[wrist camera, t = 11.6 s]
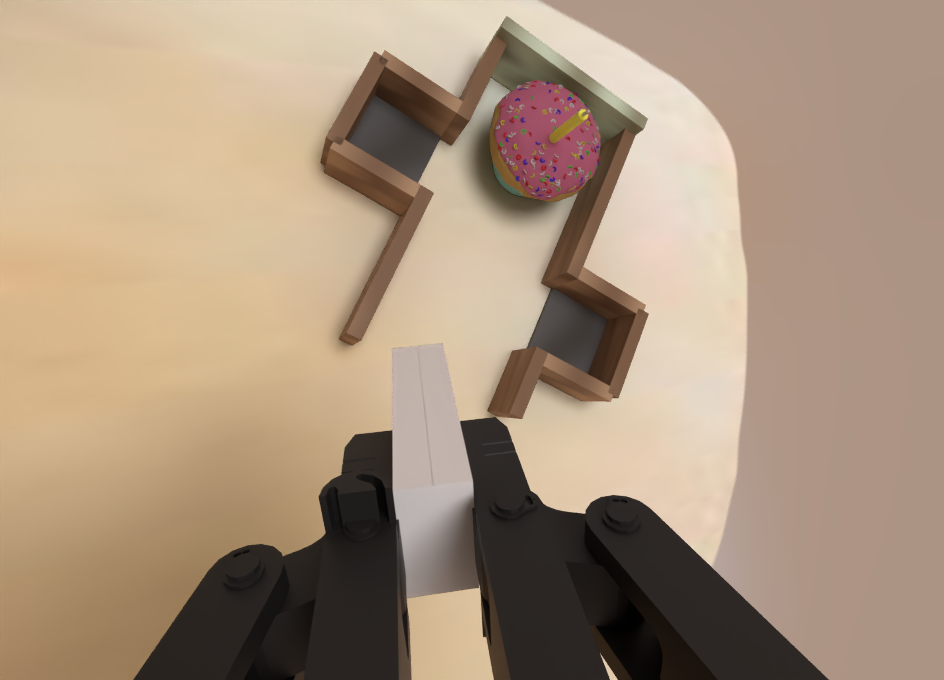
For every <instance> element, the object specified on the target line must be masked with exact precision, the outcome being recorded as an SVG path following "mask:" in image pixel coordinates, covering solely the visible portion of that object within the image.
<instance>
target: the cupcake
mask: <svg viewBox="0 0 944 680" xmlns="http://www.w3.org/2000/svg"><path fill="white" fill-rule="evenodd" d="M518 86H519V87H518ZM518 86H517V88H516V89H515V90H513V91H512V92H510V93H509V94H506V96H505V97H503V98H502V100H501V101H500V102H499V103H498V104H497V106H496V107H495V110H494V115H493V119H492V123H491V130H490V152H491V157H492V160H493V170H494V174H495V176H496V178H497V180H498V182H499V183H500V184H501V185H502V187H503V188H505V189H506V190H507V191H509V192H510V193H512V194H514V195H518V196H525V197H528V198H534V199H539V200H544V201H550V202H555V201H559V200H562V199H564V198H567V197H570V196H573V195H574V194H576V193H577V192H578V191H579V190H580V189H581V188H582V187H583V186H584V185H585V183H586V182H587V181H588V180H589V179H591V178H592V177H593V175H594V173H595V170H596V169H597V165H599V160H600V159H599V153H600V138H601V135H600V133H599V132H598V131H599V127H598V126H596V124H595V121H594V120H595V119H594V118H593V117H592V115H591V111H590V110H588V108H587V105H586V104H585V105H584V102H583V101H582V100H581V99H579V98H578V97H577V93H572V92H570V91H568V90H567V89H566V88H563V86H562V85H559V84H558V85H556V84H554V83H549V82H544V81H539V80H534V81H530V82H525V84H523V85H518ZM597 163H598V164H597Z"/></svg>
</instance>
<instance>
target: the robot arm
mask: <svg viewBox="0 0 944 680" xmlns="http://www.w3.org/2000/svg"><path fill="white" fill-rule="evenodd" d="M341 473H342V475H340V476H338V477H336V478H334V479H332V480H331V481H330V482H329V483H328V484H327V485H325V486H324V487H323V489H322V491H321V493H320V495H319V501H320V506H321V511H322V516H323V521H324V526H325V531H326V533H325V535H324V536H323V537H322V538H321V539H319V540H318V541H316V542H315V543H313V544H312V545H310V546H308V547H306V548H303V549H301V550H299V551H296V552H293V553H291V554H288V555H285V556H283V557H282V553H281V552H280V551H278V550H277V549H276V548H275V547H273V546H268V545H264V544H257V545H248V546H245V547H242V548H239V549H236V550H234V551H232V552H230V553H229V554H227V555H225V556H224V557H222V558H221V559H219V560H218V561H217V562H216V563H215V564H214V565H213V567H212V568H211V569H210V570H209V571H208V572H207V574H206V575H205V577H204V578H203V580H202V581H201V582H200V584H199V585H198V587H197V588H196V590H195V591H194V593H193V594H192V596H191V597H190V598H189V600H188V601H187V603H186V604H185V606H184V607H183V609H182V610H181V611H180V613H179V614H178V616H177V617H176V619H175V620H174V622H173V623H172V625H171V626H170V627H169V629H168V630H167V632H166V633H165V635H164V636H163V638H162V639H161V640H160V642H159V643H158V645H157V646H156V648H155V649H154V651H153V652H152V654H151V655H150V656H149V658H148V659H147V661H146V662H145V664H144V665H143V667H142V668H141V670H140V671H139V672H138V674H137V675H136V677H135V678H134V680H411V654H410V628H409V616H408V608H407V598H412V597H419V596H425V595H432V594H439V593H446V592H453V591H459V590H466V589H473V588H479V585H480V591H481V608H482V626H483V637H486V638H487V643H488V649H489V655H490V660H491V666H492V672H493V677H494V680H610V679H609V676H608V673H607V671H606V668H605V665H604V663H603V660H602V658H601V655H602V656H603V658H604V659H605V661H606V662H607V664H608V665H609V667H610V668H611V670H612V671H613V673H614V674H615V676H616V677H617V679H618V680H828V679H827V678H826V677H825V676H824V675H823V674H822V673H821V672H820V671H819V670H818V669H817V668H816V667H815V666H814V665H813V664H812V663H811V662H810V661H808V659H807V658H806V657H805V656H803V655H802V654H801V653H800V652H799V651H798V650H797V649H796V648H795V647H794V646H793V645H792V644H791V643H790V642H789V641H788V640H787V639H786V638H785V637H784V636H783V635H781V634H780V633H779V632H778V631H777V630H776V629H775V628H774V627H773V626H772V625H771V624H770V623H769V622H768V621H767V620H766V619H765V618H764V617H763V616H762V615H761V614H760V613H759V612H758V611H757V610H756V609H755V608H753V607H752V606H751V605H750V604H749V603H748V602H747V601H746V600H745V599H744V598H743V597H742V596H741V595H740V594H739V593H738V592H737V591H736V590H735V589H734V588H733V587H732V586H731V585H729V584H728V583H727V582H726V581H725V580H724V579H723V578H722V577H721V576H720V575H719V574H718V573H717V572H716V571H715V570H714V569H713V568H712V567H711V566H710V565H709V564H708V563H707V562H706V561H705V560H703V559H702V558H701V557H700V556H699V555H698V554H697V553H696V552H695V551H694V550H693V549H692V548H691V547H690V546H689V545H688V544H687V543H686V542H685V541H684V540H683V539H682V538H681V537H680V536H678V535H677V534H676V533H675V532H674V531H673V530H672V529H671V528H670V527H669V526H668V525H667V524H666V523H665V522H664V521H663V520H662V519H661V518H660V517H659V516H658V515H657V514H656V513H655V512H653V511H652V510H651V509H650V508H649V507H647V506H646V505H645V504H643V503H642V502H640V501H638V500H635V499H632V498H630V497H627V496H617V495H611V496H605V497H600V498H598V499H597V500H595V501H593V502H591V503H590V505H589V506H588V508H587V509H586V514H582V513H573V512H565V511H560V510H555V509H553V508H550V507H547V506H546V505H544V504H543V503H542V501H541V500H540V498H539V497H538V496H537V495H536V494H535V493H533V492H532V491H530V488H529V486H528V483H527V480H526V477H525V475H524V472H523V469H522V466H521V464H520V461H519V458H518V455H517V453H516V450H515V447H514V444H513V442H512V439H511V436H510V433H509V431H508V428H507V427H506V426H505V425H504V424H503V423H502V422H500V421H499V420H498V419H497V418H496V417H493V418H484V419H475V420H467V421H460V420H459V416H458V411H457V406H456V402H455V397H454V393H453V388H452V384H451V379H450V375H449V370H448V365H447V361H446V356H445V352H444V347H443V343H441V344H431V345H421V346H410V347H400V348H392V430H391V431H383V432H374V433H365V434H356V435H354V437H353V438H352V439H351V440H350V442H349V443H348V444H347V445H346V447H345V450H344V458H343V465H342V472H341ZM600 653H601V655H600Z"/></svg>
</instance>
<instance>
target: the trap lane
mask: <svg viewBox="0 0 944 680" xmlns="http://www.w3.org/2000/svg"><path fill="white" fill-rule="evenodd" d="M491 77H492V78H493V79H495V80H496V81H497V82H499V83H500V84H502V85H503V86H505V87H506V88H508V89H509V90H511V91H513V90H515V89H516V88H517V86H518V85H523V84H525V82H530V81H534V80H539V81H544V82H549V83H554V84H556V85H558V84H559V85H562V86H563V88H566V89H567V90H568V91H570V92H572V93H577V97H578V98H579V99H581V100H582V101H583V102H584V105H585V104H586V105H587V108H588V110H590V111H591V115H592V117H593V118H594V119H595V120H594V121H595V124H596V126H598V127H599V131H598V132H599V133H600V135H601V138H600V153H599V159H600V160H599V165H597V169H596V170H595V173H594V175H593V177H592V178H591V179H589V180H588V181H587V182H586V183H585V185H584V186H583V187H582V188H581V189H580V191H579V193H578V196H577V198H576V201H575V203H574V205H573V208H572V210H571V212H570V215H569V217H568V220H567V222H566V224H565V227H564V229H563V232H562V234H561V236H560V239H559V241H558V244H557V246H556V248H555V251H554V253H553V256H552V258H551V260H550V263H549V265H548V268H547V270H546V272H545V275H544V277H543V280H542V282H541V283H542V284H544V285H546V286H548V287H549V288H551V291H550V293H549V296H548V298H547V301H546V303H545V306H544V308H543V311H542V313H541V315H540V318H539V320H538V323H537V325H536V328H535V330H534V332H533V335H532V337H531V340H530V342H529V345H528V347H527V348H526V349H520V350H515V351H512V354H511V356H510V359H509V361H508V363H507V366H506V368H505V371H504V373H503V375H502V378H501V380H500V383H499V385H498V387H497V390H496V392H495V394H494V397H493V399H492V402H491V404H490V406H489V409H488V412H490V413H492V414H494V415H497V416H499V417H508V418H518V419H522V418H523V415H524V413H525V410H526V408H527V405H528V403H529V400H530V398H531V395H532V393H533V390H534V388H535V385H536V383H537V380H538V379H540V380H542V381H544V382H546V383H548V384H550V385H552V386H554V387H556V388H558V389H559V390H561V391H563V392H565V393H567V394H569V395H571V396H573V397H575V398H577V399H579V400H581V401H606V402H611V400H612V398H619V395H620V393H621V390H622V387H623V384H624V381H625V379H626V376H627V373H628V370H629V367H630V365H631V362H632V359H633V356H634V353H635V351H636V348H637V345H638V342H639V340H640V337H641V334H642V331H643V328H644V326H645V323H646V320H647V317H648V313H646V312H645V311H644V309H645V306H646V305H645V304H643V303H641V302H640V301H638V300H637V299H635V298H633V297H632V296H630V295H628V294H627V293H625V292H623V291H622V290H620V289H618V288H617V287H615V286H613V285H612V284H610V283H608V282H607V281H605V280H603V279H602V278H600V277H599V276H597V275H595V274H594V273H592V272H590V271H589V270H587V269H585V268H584V267H583V265H584V263H585V260H586V258H587V255H588V253H589V250H590V248H591V245H592V243H593V240H594V238H595V235H596V233H597V230H598V228H599V225H600V223H601V220H602V218H603V215H604V213H605V210H606V208H607V205H608V203H609V200H610V198H611V195H612V193H613V190H614V188H615V185H616V183H617V180H618V178H619V175H620V173H621V170H622V168H623V165H624V163H625V160H626V158H627V155H628V153H629V150H630V148H631V145H632V143H633V140H634V138H635V135H636V134H638V133H639V132H641V131H642V130H643V129H644V127H645V125H646V122H647V120H648V118H646V117H645V116H643V115H642V114H641V113H639V112H638V111H637V110H635V109H634V108H632V107H631V106H630V105H628V104H627V103H626V102H624V101H623V100H621V99H620V98H619V97H617V96H616V95H615V94H613V93H612V92H610V91H609V90H608V89H606V88H605V87H604V86H602V85H601V84H599V83H598V82H597V81H595V80H594V79H593V78H591V77H590V76H588V75H587V74H586V73H584V72H583V71H582V70H580V69H579V68H578V67H576V66H575V65H573V64H572V63H571V62H569V61H568V60H567V59H565V58H564V57H562V56H561V55H560V54H558V53H557V52H556V51H554V50H553V49H551V48H550V47H549V46H547V45H546V44H545V43H543V42H542V41H540V40H539V39H538V38H536V37H535V36H534V35H532V34H531V33H529V32H528V31H527V30H525V29H524V28H523V27H521V26H520V25H518V24H517V23H516V22H514V21H513V20H512V19H510V18H509V17H507V16H506V18H505V19H504V21H503V22H502V24H501V26H500V27H499V29H498V30H497V32H496V34H495V35H494V37H493V38H492V40H491V42H490V43H489V45H488V46H487V48H486V50H485V51H484V53H483V54H482V56H481V58H480V60H479V62H478V64H477V66H476V68H475V70H474V72H473V74H472V76H471V78H470V80H469V82H468V84H467V86H466V88H465V90H464V91H463V93H462V95H461V97H460V99H458V98H457V97H455V96H454V95H452V94H451V93H449V92H447V91H446V90H444V89H443V88H441V87H440V86H438V85H437V84H435V83H434V82H432V81H431V80H429V79H428V78H426V77H425V76H423V75H422V74H420V73H419V72H417V71H416V70H414V69H413V68H411V67H410V66H408V65H407V64H405V63H404V62H402V61H400V60H399V59H397V58H396V57H394V56H393V55H391V54H390V53H388V52H387V51H385V50H384V52H383V54H382V56H381V55H379V54H378V53H376V52H374V53H373V55H372V57H371V59H370V60H369V62H368V64H367V66H366V68H365V69H364V71H363V73H362V75H361V76H360V78H359V80H358V82H357V83H356V85H355V87H354V89H353V91H352V92H351V94H350V96H349V98H348V99H347V101H346V103H345V105H344V107H343V108H342V110H341V112H340V114H339V115H338V117H337V119H336V121H335V122H334V124H333V126H332V128H331V130H330V131H329V133H328V135H327V137H326V140H325V145H324V149H323V154H322V158H321V163H322V164H324V165H326V166H325V170H324V173H326V174H328V175H330V176H331V177H333V178H335V179H337V180H338V181H340V182H342V183H344V184H345V185H347V186H349V187H351V188H352V189H354V190H356V191H358V192H359V193H361V194H363V195H365V196H366V197H368V198H370V199H372V200H373V201H375V202H377V203H379V204H380V205H382V206H384V207H386V208H387V209H389V210H391V211H393V212H394V213H396V214H398V215H400V216H401V217H400V219H399V221H398V223H397V225H396V227H395V228H394V230H393V232H392V234H391V236H390V238H389V240H388V242H387V244H386V246H385V248H384V250H383V252H382V254H381V256H380V258H379V260H378V262H377V264H376V266H375V268H374V270H373V272H372V274H371V276H370V278H369V280H368V282H367V284H366V286H365V288H364V290H363V292H362V294H361V296H360V298H359V300H358V302H357V304H356V306H355V308H354V310H353V312H352V314H351V316H350V318H349V320H348V322H347V324H346V326H345V328H344V330H343V332H342V334H341V336H340V338H339V339H340V340H342V341H344V342H346V343H348V344H350V345H354V344H356V343H357V342H359V341H361V340H362V338H363V336H364V334H365V332H366V330H367V328H368V326H369V324H370V322H371V320H372V318H373V316H374V313H375V311H376V309H377V307H378V305H379V303H380V301H381V299H382V297H383V295H384V293H385V291H386V289H387V287H388V285H389V283H390V281H391V279H392V277H393V275H394V273H395V271H396V269H397V267H398V265H399V263H400V261H401V259H402V257H403V255H404V253H405V251H406V249H407V246H408V244H409V242H410V240H411V238H412V236H413V234H414V232H415V230H416V228H417V226H418V224H419V222H420V220H421V218H422V216H423V214H424V212H425V210H426V208H427V206H428V204H429V202H430V200H431V198H432V196H433V194H434V193H433V192H432V191H430V190H428V189H427V188H425V187H423V186H422V185H420V184H418V181H419V179H420V177H421V175H422V173H423V171H424V170H425V168H426V166H427V164H428V162H429V160H430V158H431V156H432V154H433V152H434V150H435V148H436V146H437V144H438V142H439V140H440V139H441V140H443V141H445V142H446V143H448V144H449V145H452V144H453V143H454V141H455V140H456V139H457V137H458V136H459V134H460V133H461V132H462V130H463V129H464V128H465V126H466V125H467V123H468V122H469V121H470V119H471V117H472V115H473V112H474V110H475V108H476V106H477V104H478V102H479V100H480V98H481V96H482V94H483V92H484V90H485V88H486V86H487V84H488V82H489V80H490V78H491ZM518 87H519V86H518ZM597 164H598V163H597Z"/></svg>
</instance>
